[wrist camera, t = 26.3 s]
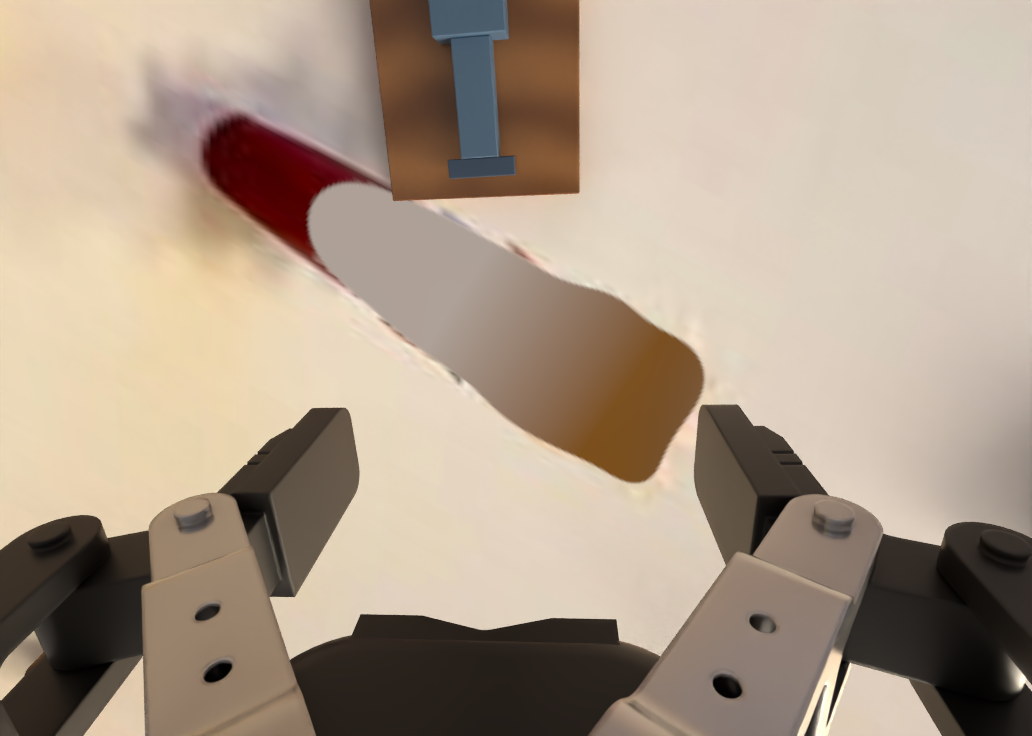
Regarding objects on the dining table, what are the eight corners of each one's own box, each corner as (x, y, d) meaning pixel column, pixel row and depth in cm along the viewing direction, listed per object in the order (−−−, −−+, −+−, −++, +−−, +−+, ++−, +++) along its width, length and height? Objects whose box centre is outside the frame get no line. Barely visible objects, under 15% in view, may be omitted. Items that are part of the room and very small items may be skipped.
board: (578, 191, 39) (579, 193, 38) (398, 199, 40) (392, 201, 39) (577, -193, 32) (578, -210, 30) (356, -172, 33) (346, -187, 31)
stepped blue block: (516, 174, 38) (513, 175, 35) (452, 178, 38) (445, 180, 36) (497, -165, 31) (492, -192, 29) (421, -156, 31) (409, -182, 29)
